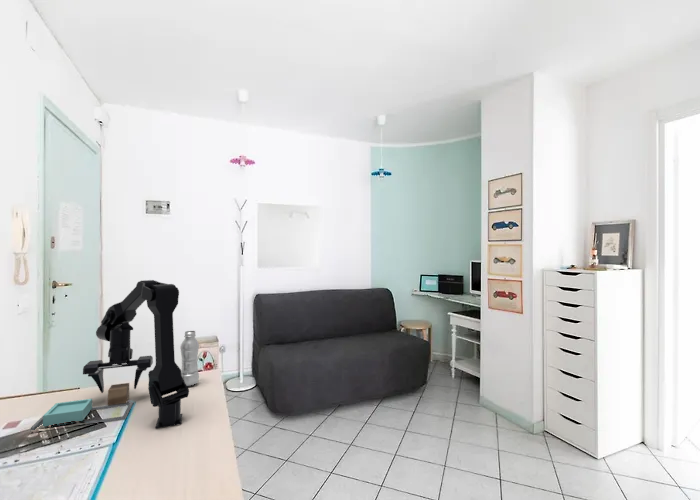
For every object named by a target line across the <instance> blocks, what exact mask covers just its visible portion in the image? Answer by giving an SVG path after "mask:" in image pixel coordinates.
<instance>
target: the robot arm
mask: <svg viewBox="0 0 700 500" xmlns="http://www.w3.org/2000/svg"><path fill="white" fill-rule="evenodd" d="M179 296H180V291H179V288H178V287H176V285H175V284H174V283H164V282H159V281H157V280H154V279H149V280H146V279H145V280H140V281H138V282H137V283H136V286H134V288H133V289H132V290H131V291H130V292H129V293H128V295H127V296H126V297H125V298H124V299H123V300H121V301H120V302H117V303H114V304H112V305H111V306H110V307H108V309H107V311H106V312H105V314H104V316H103V318H102V320H101V322H100V323H101V324H100V325H99V326H98V328H97V329H96V332H95V336H96V337H97V338H98V339H99V340H101V341H106V342H109V349H108V353H107V354H108V356H107V357H108V358H109V359H108V360H109V361H108V362H103V360H102V359H98V360H89V361H88V362H87V363H86V364H85V365H84V366H83V368H82V375H87V377H88V378H89V377H91V379H93V381H94V382H95V383H96V386H97V387H98V389H99V391H100V394H103V393H104V391H105V390H104V389H105V383H104V370H106V369H115V368H117V369H118V368H125V367H135V366H136V367H137V368H136V369H135V376H134V382H133V388H134V390H136V388H137V387H138V384H139V381H140V378H141V375H142V373H143V372H144V371H146V370H147V369H149V368H152V365H153V363H154V360H153V356H152V355H143V356H139V357H138V358H137V359H133V353H134V351H133V350H134V349H133V348H131V332H132V331H134V327H133V326H132V325H130V322H133V320H134V319H135V317H136V316H137V310H138V308H140V307H141V306H142V304H143V303H144V302H145V301H146V305H147V308H148V309H149V310H150V312H151V313H152V315H153V321H154V322H153V323H154V324H153V325H154V328H153V329H154V346H155V347H154V348H155V349H154V350H155V365H154V367H153V369H152V370H149V371H148V384H147V385H148V387H147V388H148V394H149V399H150V400H149V401H150V404H151V405H152V407H153V408H154V407H156V408H157V407H158V417H157V421H156V423H155V429H160V428H167V427H174V426H179V425H181V424H182V422H183V413H181V409H182V406H181V403H182V402H181V401H182V399H185V398H188V397H189V394H190V390H189V388H188V386H186V384H185V382H184V380H183V378H182V374H181V369H182V368H180V367H179V366H178V364H177V363H176V360H175V342H174V341H175V336H174V334H175V333H174V311H175V310H176V308H177V307H178V304H179V298H180V297H179Z"/></svg>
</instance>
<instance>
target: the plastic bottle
mask: <svg viewBox="0 0 700 500" xmlns="http://www.w3.org/2000/svg"><path fill="white" fill-rule="evenodd" d="M199 347H200V344H199V341H198V339H197V338H196V330H187V331H184V339H183V341H182V343H181V344H180V354H181V368H180V369H181V374H182V378H183V380H184V382H185V384H186V386H187V387H191V385H192V386H195V385H197V384H198V382H199V378H200V375H199V368H198V367H199V366H198V358H199V357H198V355H199V350H200V349H199ZM196 383H197V384H196ZM194 384H195V385H194Z"/></svg>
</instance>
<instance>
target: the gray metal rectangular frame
mask: <svg viewBox="0 0 700 500" xmlns="http://www.w3.org/2000/svg"><path fill="white" fill-rule="evenodd" d="M126 405H127V407H126V409H125V412H124V413H123V415H122V416H116V417H108V418H107V417H106V418H101V419H95V420H89V421H85V422H86V423H93V422H100V421H101V422H104V423H108V422H116V421H123V420H126V418H127V417H128V416H129V413H130V412H131V411H130V410H131V409H132V407H133V405H134V401H129V402H128V401H127V402H126V403H120V404H112V405H108V404H105V405H98V406H92V409H91V411H96V410H105V409H112V408H117V407H118V406H120V407H125V406H126ZM111 407H112V408H111ZM95 409H96V410H95ZM42 424H43V415H42V416H41V417H40V418H39V419H38V420H37V421H36V422H35V423H34V424H33V425H32V426H31V427H30V431H31V430H35V429H36V428H37V427H39V426H40V425H42ZM42 426H43V425H42Z"/></svg>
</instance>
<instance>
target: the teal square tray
mask: <svg viewBox="0 0 700 500" xmlns="http://www.w3.org/2000/svg"><path fill="white" fill-rule="evenodd" d="M92 407H93V398H87V399H79V400H72V401H71V400H70V401H63V402H56V403H54V405H52V406H51V407H50V409H48V410H47V411H46V412H45V413H44V414H43V415H42V416H43V425H42V427H43V426H44V427H47V426H49V425H53V424H57V425H60V424H59V423H64V422H71V421H81V422H84V420H85V418H86V417H87V416H88V414H89V413H90V412H91V411H92V410H91V409H92ZM90 410H91V411H90ZM71 423H72V422H71ZM64 424H65V423H64ZM53 426H54V425H53Z"/></svg>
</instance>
